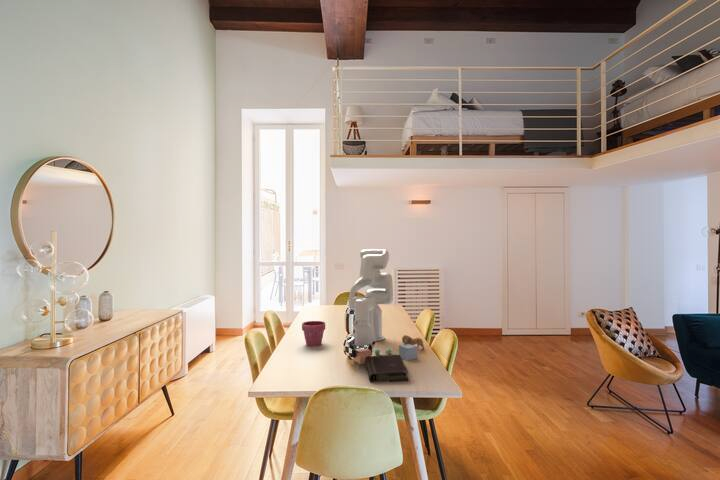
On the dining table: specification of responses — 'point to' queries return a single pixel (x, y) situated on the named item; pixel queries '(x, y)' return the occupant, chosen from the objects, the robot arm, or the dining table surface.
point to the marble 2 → (388, 351)
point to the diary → (386, 368)
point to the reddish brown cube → (362, 355)
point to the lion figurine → (412, 341)
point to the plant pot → (313, 332)
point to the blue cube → (408, 352)
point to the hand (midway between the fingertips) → (362, 355)
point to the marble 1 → (377, 351)
